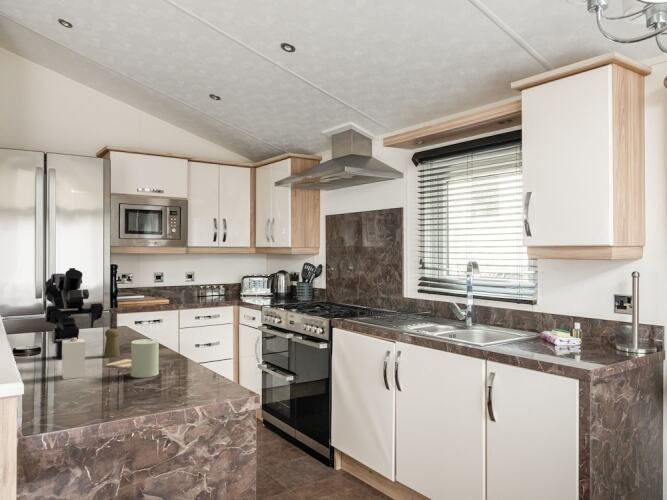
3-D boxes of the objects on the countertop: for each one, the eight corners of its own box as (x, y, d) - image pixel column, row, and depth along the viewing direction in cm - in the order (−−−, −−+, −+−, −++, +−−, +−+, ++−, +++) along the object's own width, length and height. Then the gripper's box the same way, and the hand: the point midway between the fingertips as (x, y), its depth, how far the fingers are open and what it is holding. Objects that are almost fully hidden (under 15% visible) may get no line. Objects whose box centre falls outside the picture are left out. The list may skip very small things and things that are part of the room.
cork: (114, 358, 202) (114, 330, 202) (100, 357, 204) (100, 329, 204) (123, 354, 208) (123, 328, 208) (110, 354, 209) (110, 327, 209)
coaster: (105, 365, 189) (105, 364, 189) (125, 360, 198) (125, 358, 198) (127, 368, 186) (127, 366, 186) (146, 362, 195) (146, 361, 195)
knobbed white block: (61, 375, 175) (62, 337, 175) (82, 372, 178) (83, 335, 178) (63, 379, 170) (63, 340, 169) (84, 377, 173) (85, 338, 173)
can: (164, 372, 180) (164, 338, 180) (146, 378, 172) (147, 343, 172) (143, 370, 183) (143, 337, 183) (124, 376, 175) (125, 341, 175)
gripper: (45, 283, 183) (51, 313, 173) (101, 282, 194) (109, 309, 184) (42, 307, 188) (48, 337, 178) (97, 304, 199) (105, 332, 189)
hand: (78, 328), depth 182 cm, fingers open, 9 cm apart
